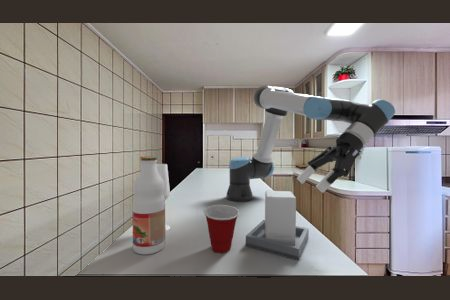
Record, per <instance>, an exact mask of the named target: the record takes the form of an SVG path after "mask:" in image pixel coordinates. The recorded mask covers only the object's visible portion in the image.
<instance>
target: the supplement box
mask: <svg viewBox="0 0 450 300" xmlns="http://www.w3.org/2000/svg"><path fill="white" fill-rule="evenodd" d="M264 195H265V196H264V197H265V198H264V199H265V201H264V220H265V239H268V240H272V241H276V242H281V243H285V244H289V245H293V246H295V234H296V226H297V198H296V196H295V195H294V194H293V192H292V191H289V190H285V191H284V190H265V193H264Z"/></svg>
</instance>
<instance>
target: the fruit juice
mask: <svg viewBox="0 0 450 300" xmlns="http://www.w3.org/2000/svg"><path fill="white" fill-rule="evenodd" d="M139 160H140V162H139V163H140V166H141V167H140V170H139V173H138V176H137V177H136V178H135V179H134V181H133V184H132V191H133V195H134V198H133V200H132V209H131V210H132V248H133V249H132V250H133V251H134V253H136V254H138V255H151V254H155V253H158V252H160V251H162V250H163V249H164V248H165V245H166V231H165V224H166V200H165V198H164V196H163V191H164V187H165V184H164V180H163V179H162V177H161V176H160V175H159V173H158V170H157V166H156V164H157V162H158V156H155V155H150V156H149V155H144V156H140V157H139Z"/></svg>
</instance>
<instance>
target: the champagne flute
mask: <svg viewBox="0 0 450 300" xmlns="http://www.w3.org/2000/svg"><path fill="white" fill-rule="evenodd" d="M156 166H157V170H158V173H159V175H160V176H161V177H162V179H163V180H164V184H165V187H164V191H163V196H164V198H165V201H167V199H168V198H169V197H170V195H171V191H170V182H169V181H170V180H169V170H168V164H167V163H156ZM170 229H171V227H170V225H168V224H166V223H165V232H166V231H168V230H170Z"/></svg>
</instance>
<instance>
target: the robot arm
mask: <svg viewBox="0 0 450 300" xmlns="http://www.w3.org/2000/svg"><path fill="white" fill-rule="evenodd" d="M253 102H254V104H255V105H256V106H257V107H258V108H260V109H263V110H264V111H265V113H266V117H265V120H264V123H263V127H262V131H261V135H260V138H259V142H258V145H257V149H256V152H255V153H253V154H252V158H250V157H247V156H244V157H243V156H242V157H235V158H232V159H230V161H229V167H228V169H229V185H228V189H227V191H226V199H227V200H228V201H233V202H248V201H251V200H253V199H254V196H253V191H252V188H251V185H250V183H251V182H250V181H251V180H255V179H266V178H269V177H271V176H272V174H273V172H274V169H275V167H274V162H273V158H272V155H273V154H272V153H273V150H274V146H275V144H276V141H277V137H278V135H279V134H278V133H279V130H280V127H281V124H282V121H283V118H286V117H287V114H288V112H289V113H293V114H295V115H301V116H304V117H307V118H308V119H310V120H315V121H333V122H335V121H336V122H344V123H347V124H350V125H349V126H348V127H347V128H346V129H345V130H344V131H343V132H342V133H341V134H340V135H339V136H338V137H337V138H336V140H335V143H336V146H334V147H331V146H328V147H327V148H326V149H324V150H323V151H322V152H320V153H319V154H318V155H316V156H315V157H314V158H312V159H311V160H309V161H308V162H307V164H308V166H307V167H306V168H305V169H304V170H303V171H302V172H301V173H300V174H299V176H297V177H296V179H297V180H298V181H299V182H300V184H304V183H305V182H306V181H307V180H308V179H309V178H310V177H311V176H312V175H313V174H314V173H315V172H316V171H317V169H318V168H321V167H322V166H324V165H326V164H328V163H333V162H334V163H335V164H334V167H332V168H331V170H330V171H329V172H328V173H327V174H326V175H325V176H324V177H323V178H322V179H321V180H320V181H319V182H318V183H317V184H316V185H315V187H316V188H317V190H318V191H319V192H321V193H322V194H324V193H325V191H326V190H327V189H329V187H330V186H331V185H333V184H334V182H335V181H336V180H338V178H341V177H348V175H349V173H350V172H351V169H352V168H353V165H354V163H355V161H356V159H357V157H358V156H359V155H360V151H361V150H362V149H363V148H364V146H366V144H368V143H369V142H370V141H371V140H372V138H373V137H374V136H375V135H377V133H378V132H379V131H380V130H381V129H382V128H383V127H384V126H386V125H387V124H388V123H389V121H390V120H391V119H392V118H393V117H394V116H395V114H396V108H395V106H394V105H393V104H392V103H391V102H389V101H387V100H385V99H376V100H374V101H372V102H371V103H370V104H366V103H359V102H356V101H351V100H348V99H344V98H343V99H342V98H341V99H340V98H330V97H324V96H317V95H315V96H314V95H309V94H303V93H296V92H295V93H294V91H293V90H292V89H289V88H286V87H284V86H283V87H282V86H274V85H266V84H265V85H261V86H259V87H258V88H256V89H255V91H254V94H253Z"/></svg>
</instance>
